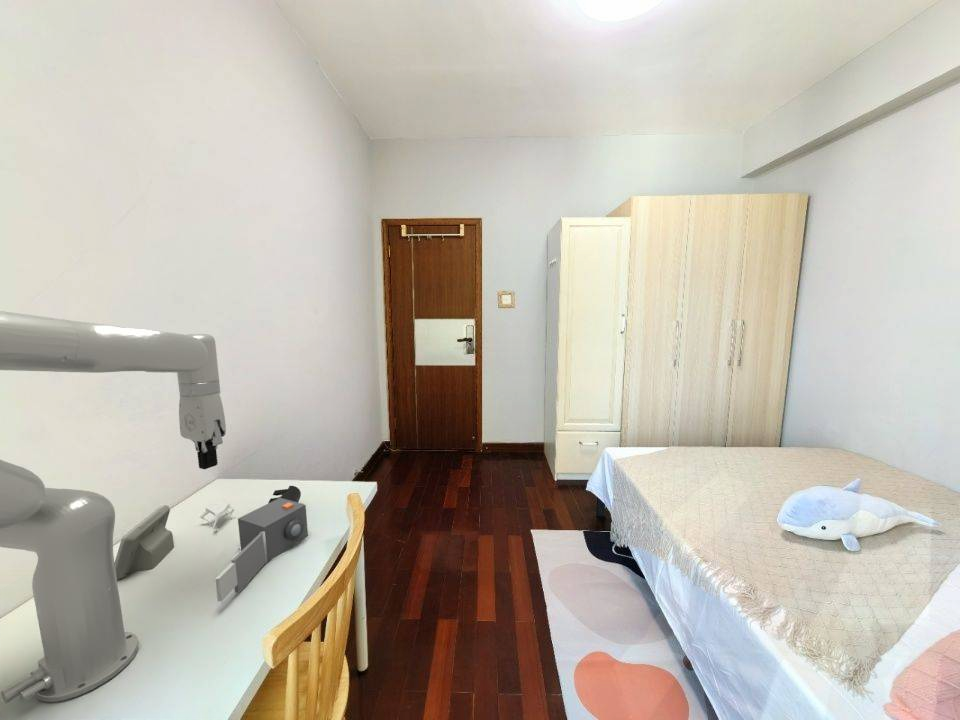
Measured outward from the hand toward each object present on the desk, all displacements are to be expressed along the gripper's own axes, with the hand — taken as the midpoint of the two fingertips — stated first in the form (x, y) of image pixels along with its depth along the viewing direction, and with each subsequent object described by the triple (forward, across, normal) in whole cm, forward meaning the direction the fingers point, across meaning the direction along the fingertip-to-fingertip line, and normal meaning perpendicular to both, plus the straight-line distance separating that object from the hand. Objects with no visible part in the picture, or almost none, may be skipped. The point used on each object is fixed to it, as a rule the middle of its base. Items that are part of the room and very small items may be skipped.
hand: (208, 466), depth 91 cm
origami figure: (+25, -20, +12) cm, 34 cm away
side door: (+25, +12, -2) cm, 27 cm away
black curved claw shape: (+25, -7, +24) cm, 36 cm away
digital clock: (+25, -20, -6) cm, 33 cm away
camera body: (+25, +4, +12) cm, 28 cm away
